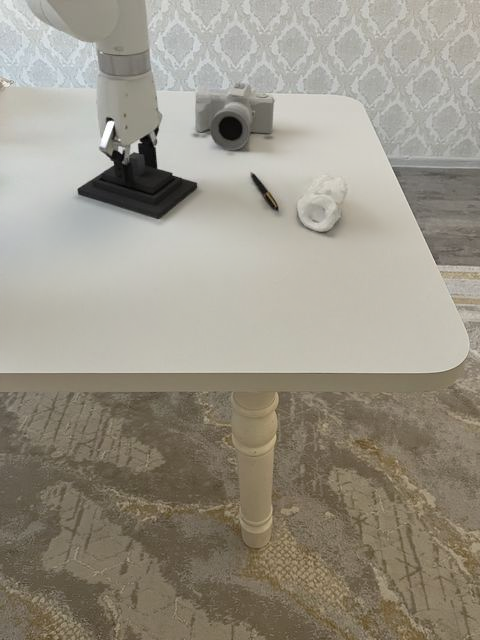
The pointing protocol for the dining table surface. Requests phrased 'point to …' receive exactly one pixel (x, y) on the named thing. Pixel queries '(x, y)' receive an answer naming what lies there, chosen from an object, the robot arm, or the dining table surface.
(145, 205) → the base pad
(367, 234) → the dining table surface
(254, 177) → the fountain pen
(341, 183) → the white hollow lump
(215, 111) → the digital camera
